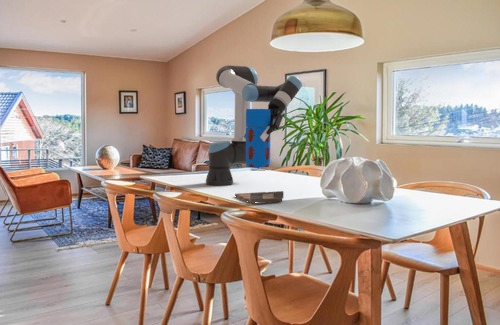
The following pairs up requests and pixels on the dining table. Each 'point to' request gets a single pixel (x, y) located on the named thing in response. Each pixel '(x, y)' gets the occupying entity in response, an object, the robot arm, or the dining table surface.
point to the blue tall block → (257, 138)
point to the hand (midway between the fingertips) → (253, 138)
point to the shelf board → (261, 196)
